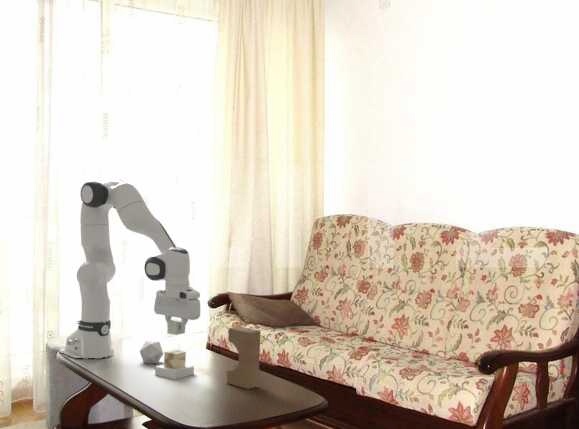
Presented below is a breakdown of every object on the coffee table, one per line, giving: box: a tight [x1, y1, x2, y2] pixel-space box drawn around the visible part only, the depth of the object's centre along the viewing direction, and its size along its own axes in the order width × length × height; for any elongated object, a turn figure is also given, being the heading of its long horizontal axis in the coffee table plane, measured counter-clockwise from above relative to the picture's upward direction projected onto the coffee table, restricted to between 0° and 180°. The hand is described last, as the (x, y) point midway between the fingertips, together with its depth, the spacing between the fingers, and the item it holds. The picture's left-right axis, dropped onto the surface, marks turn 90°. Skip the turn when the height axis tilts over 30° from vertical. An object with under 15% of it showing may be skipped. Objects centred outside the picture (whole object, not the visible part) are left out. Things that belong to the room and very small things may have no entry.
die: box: [139, 340, 164, 365], centre depth 286 cm, size 8×9×10 cm
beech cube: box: [163, 348, 187, 369], centre depth 270 cm, size 6×6×6 cm
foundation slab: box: [154, 363, 195, 380], centre depth 270 cm, size 10×10×3 cm
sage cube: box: [167, 319, 186, 336], centre depth 269 cm, size 4×4×4 cm
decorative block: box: [226, 326, 261, 390], centre depth 259 cm, size 11×6×20 cm, turn 48°
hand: (176, 328), depth 269 cm, fingers closed on sage cube, 4 cm apart
